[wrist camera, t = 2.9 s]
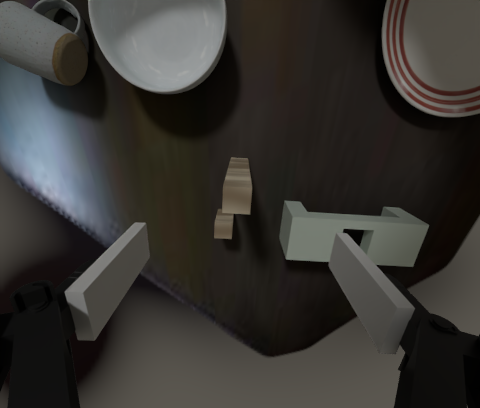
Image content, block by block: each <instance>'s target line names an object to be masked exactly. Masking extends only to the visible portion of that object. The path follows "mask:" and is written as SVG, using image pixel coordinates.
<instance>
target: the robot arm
mask: <svg viewBox="0 0 480 408" xmlns="http://www.w3.org/2000/svg"><path fill="white" fill-rule="evenodd" d="M149 258H150V255H149V245H148V235H147V226H146V223H134V224H133V225H132V226H131V227H130V228H129V229H128V230H127V231H126V232H125V233H124V234H123V235H122V236H121V237H120V238H119V239H118V240H117V241H116V242H115V243H114V244H113V245H112V246H111V247H110V248H109V249H107V250H106V251H105V252H104V253H103V254H102V255H101V257H99V258H98V259H97V260H90V261H88V262H86V263H84V264H82V265H81V266H80V267H79V268H78V269H77V270H76V271H75V272H74V273H73V274H71V275H70V276H69V278H67V279H66V280H65V281H64V282H63V283H61V284H60V285H59V286H58V287H57V288H56V289H55V290H54V287H53V284H52V283H51V282H50V281H47V280H45V281H36V282H32V283H29V284H27V285H24V286H22V287H21V288H19V289H17V290H16V291H15V292H14V293H12V295H11V297H10V301H11V303H12V306H13V309H14V311H15V312H10V313H4V314H0V391H1V388H2V386H3V384H4V381H5V379H6V377H7V374H8V372H9V370H10V367H11V375H10V386H9V398H8V408H80V404H79V397H78V391H77V384H76V377H75V371H74V364H73V358H72V352H71V344H70V341H69V338H70V336H71V335H72V333H73V332H74V331H75V332H76V335H77V339H78V340H94V341H95V339H96V338H97V336H98V335H99V333H100V332H101V330H102V329H103V327H104V326H105V324H106V323H107V321H108V320H109V318H110V317H111V314H112V313H113V312H114V311H115V309H116V307H117V306H118V304H119V303H120V301H121V300H122V298H123V297H124V295H125V294H126V292H127V291H128V289H129V288H130V286H131V285H132V283H133V282H134V280H135V279H136V277H137V276H138V274H139V273H140V271H141V270H142V268H143V267H144V265H145V264H146V262H147V261H148V259H149ZM329 268H330V270H331V271H332V273H333V275H334V276H335V278H336V280H337V282H338V283H339V285H340V287H341V288H342V290H343V292H344V294H345V295H346V297H347V299H348V300H349V302H350V304H351V306H352V307H353V309H354V311H355V312H356V314H357V316H358V318H359V319H360V321H361V323H362V324H363V326H364V328H365V330H366V331H367V333H368V335H369V336H370V338H371V340H372V342H373V343H374V345H375V347H376V348H377V350H378V352H379V353H382V354H383V353H384V354H396V352H397V350H398V347H399V345H401V347H402V348H403V350H404V351H405V355H404V357H403V359H402V362H401V364H400V366H399V368H398V370H400V371H401V372H400V378H399V383H398V389H397V394H396V399H395V405H394V408H467V406H468V408H480V335H479V336H475V335H471V334H468V333H465V332H461V331H459V330H458V328H457V327H456V326H455V325H454V324H452V323H451V322H450V321H448V320H446V319H445V318H443V317H441V316H438V315H435V314H430V313H429V312H428V311H427V310H426V309H425V308H424V307H423V306H422V305H421V304H420V303H419V302H418V301H417V299H416V298H415V297H414V296H413V295H412V294H410V292H409V291H408V290H407V289H406V288H404V286H403V285H402V284H401V283H400V282H399V281H398V280H397V279H396V278H394V277H393V276H391V275H390V274H388V273H383V272H382V271H381V270H380V269H379V268H378V267H377V266H376V265H375V264H374V263H373V261H372V260H371V259H370V258H369V257H368V256H367V255H366V254H365V253H364V252H363V250H362V249H361V248H360V247H359V246H358V245H357V244H356V243H355V242H354V240H353V239H352V238H351V237H350V236H349V235H348V234H347V233H336V235H335V239H334V244H333V248H332V252H331V257H330V261H329Z"/></svg>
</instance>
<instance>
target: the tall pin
mask: <svg viewBox="0 0 480 408" xmlns="http://www.w3.org/2000/svg"><path fill="white" fill-rule="evenodd" d="M251 197H252V183H251V176H250V169H249V162H248V159H247V158H231V160H230V163H229V167H228V171H227V174H226V178H225V182H224V185H223V207H222V213H233V214H250V208H251Z"/></svg>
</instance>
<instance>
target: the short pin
mask: <svg viewBox="0 0 480 408" xmlns="http://www.w3.org/2000/svg"><path fill="white" fill-rule="evenodd" d="M233 216H234V214H233V213H222V209H218V212H217V216H216V220H215V233H214V238H224V239H232V230H233Z"/></svg>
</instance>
